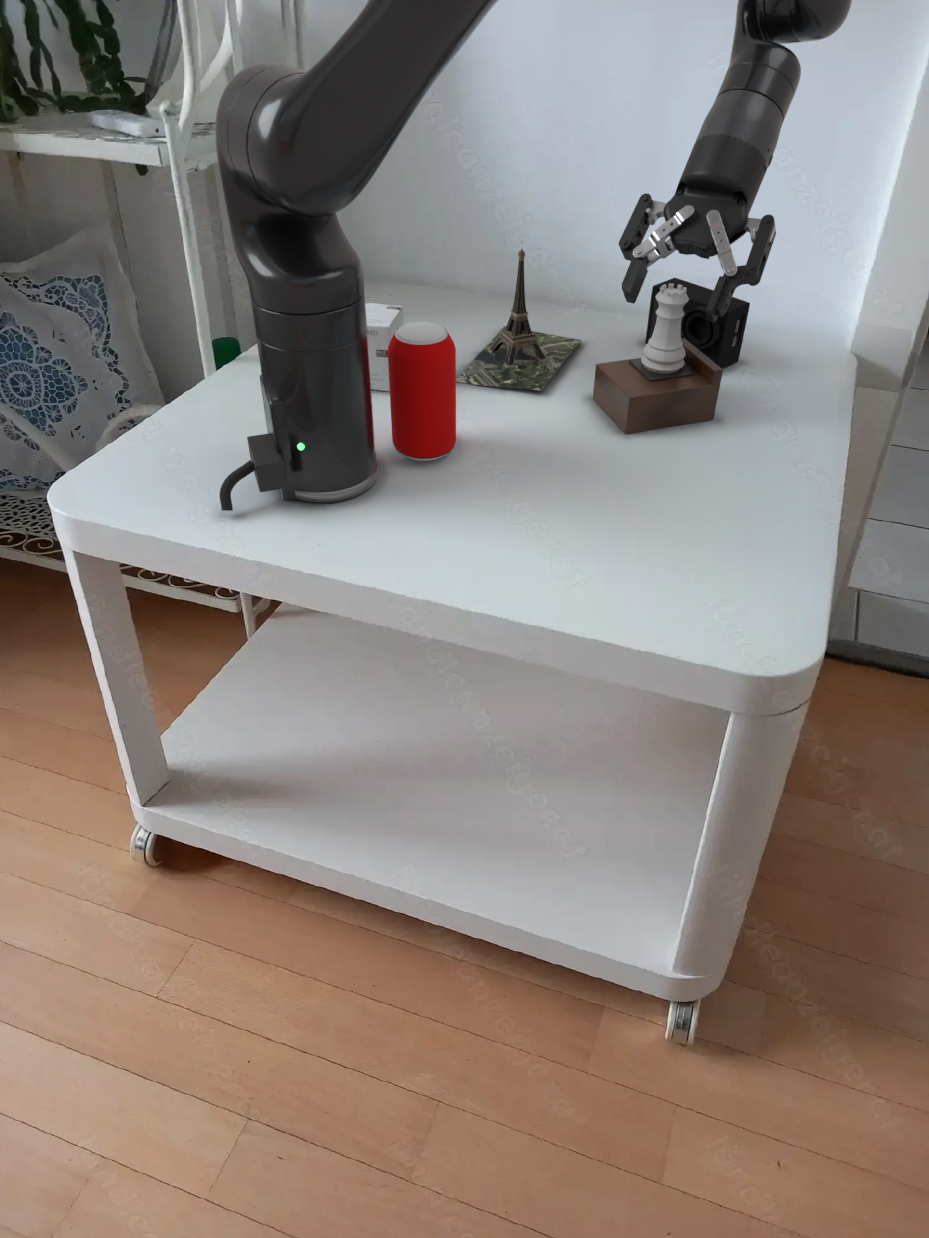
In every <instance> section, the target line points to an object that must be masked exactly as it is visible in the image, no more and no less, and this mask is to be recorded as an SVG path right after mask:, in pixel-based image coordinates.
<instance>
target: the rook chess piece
mask: <svg viewBox="0 0 929 1238" xmlns="http://www.w3.org/2000/svg"><path fill="white" fill-rule="evenodd" d="M666 287H667V285H665V284H664V285H662V287H660V292H659V293H658V294H657V295H656V296H655V297H656V300H657V302H658V303H659V308H658V309H657V310H656V314H657V320H656V325H655V328H654V332H653V335H652V337H651V338H650V339H649V341H648V342H649V343H647V344H645V345H644V347H643V348H642V354H643V355H642V357H640V358H641V361H642V364H643V365H644V367H645V368H646V369H648V370H650V371H652V372H655V373H661V374H669V373H675V372H677V371H679V370H680V369H681V368H682V367H683V366H684V364H685V362H684V359H683V358H684V357H685V355H686V354H685V349H684V347H683V346H682V345H683V343H682V341H681V320H682V317H683V316H684V312H683V306H684V305H685V304H686V303H687V302H688V301H689V298H688V296H687V294H686V291H687V289H686V287H683V285H680V284H679V285H678V287H677V289H676V288H674V284H669V287H668V288H666Z"/></svg>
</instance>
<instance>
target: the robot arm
mask: <svg viewBox="0 0 929 1238" xmlns="http://www.w3.org/2000/svg"><path fill="white" fill-rule="evenodd" d="M499 1H500V0H367V2H366V4H365V5H364V7H363V8H362V10H361V11H360V12H359V13H358V15H357V16H356V18H355V19H354V20H353V21H352V22H351V24H350V25H349V26H348V27H347V28H346V30H345V31H344V32H343V33H342V34H341V36H340V37H339V38H338V40H337V41H336V42H335V43H334V44H333V45H332V47H330V48H329V50H327V52H326V53H324V55H323V56H322V57H321V58H319V60H318V61H317V62H316V63H314V65H313V66H311V68H309V69H308V70H304V69H301V68H298V67H295V66H292V65H288V64H285V63H284V64H283V63H278V62H269V61H267V62H258V63H253V64H251V65H248V66H246V67H245V68H243V69H241V70H240V71H238V72H237V73H236V74H235V75H234V76H233V77H232V78H231V79H230V80H229V82H228V83H227V84H226V86H225V88H224V89H223V90H222V93H221V96H220V99H219V101H218V106H217V110H216V115H215V124H214V126H215V127H214V132H215V133H214V134H215V137H214V138H215V149H216V157H217V163H218V164H217V165H218V169H219V176H220V177H219V178H220V183H221V187H222V188H221V189H222V193H223V198H224V203H225V208H226V209H225V210H226V214H227V217H228V218H227V219H228V224H229V230H230V235H231V239H232V243H233V248H234V251H235V254H236V257H237V259H238V262H239V264H240V266H241V268H242V270H243V272H244V274H245V277H246V280H247V285H248V289H249V290H248V291H249V295H250V302H251V309H252V316H253V323H254V330H255V337H256V344H257V345H256V346H257V351H258V359H259V364H260V375H259V383H260V390H261V391H260V392H261V397H262V405H263V411H264V417H265V424H266V432H267V433H263V434H256V435H249V436H248V435H247V437H246V439H247V445H248V452H249V458H250V459H249V460H248V461H247V462H245V463H244V464H242V465H240V467H238V468H236V469H235V470H234V471H232V472H231V473H230V474H229V475H227V477H226V478H225V479H224V481H223V482H222V483H221V486H220V489H219V502H220V507H221V508H220V509H221V511H225V512H226V511H227V512H228V511H229V512H230V511H234V508H233V501H232V491H233V489H234V487H235V486H236V485H237V484H238V483H239V482H240V481H241V480H243V479H244V478H246V477H247V476H249V475H251V474H252V473H253V474H254V477H255V480H256V484H257V487H258V490H259V493H265V492H271V491H277V490H279V493H280V496H281V498H282V500H283V501H289V500H290V501H291V500H299V501H303V502H311V503H333V502H339V501H344V500H348V499H351V498H354V497H357V496H359V495H361V494H363V493H364V492H366V491H367V490H369V489H370V488H371V487H372V486H373V485H374V484H375V482H376V481H377V479H378V475H379V473H378V472H379V470H378V460H377V452H376V445H375V444H376V443H375V428H374V427H375V425H374V414H373V413H374V411H373V400H372V399H373V397H372V389H371V382H370V367H369V353H368V338H367V323H366V308H365V303H366V296H365V295H366V294H365V278H364V277H365V275H364V267H363V261H362V260H361V259H362V258H361V256H360V255H359V253H358V250H357V249H356V248H355V247H354V245H353V244H352V242H351V241H350V240H349V238H348V236H347V235H346V233H345V231H344V229H343V226H342V225H341V223H340V220H339V217H338V214H337V213H338V212H340V211H342V210H343V209H345V208H347V207H348V206H349V205H350V204H351V203H353V201H354V200H356V199H357V197H358V196H360V194H362V192H363V190H364V189H365V188H366V187H367V185H368V184H369V182H370V181H371V180H372V178H373V177H374V175H375V174H376V173H377V171H378V170H379V168H380V166H381V165H382V163H384V160H385V158H386V157H387V156H388V154H389V153H390V151H391V150H392V148H393V146H394V144H395V143H396V141H397V140H398V138H399V137H400V135H401V133H402V131H403V130H404V129H405V128H406V126H407V124H408V122H409V121H410V119H411V117H412V116H413V114H414V113H415V112H416V110H417V108H418V106H419V105H420V104H421V102H422V101H423V99H424V98H425V96H426V95H427V93H428V92H429V90H430V89H431V87H432V86H433V84H434V83H435V82H436V80H437V79H438V78H439V77H440V76H441V74H442V73H443V72H444V71H445V70H446V68H447V67H448V65H449V64H450V63H451V62H452V61H453V59H454V58H455V56H456V55H457V54H458V52H460V50H461V49H462V48H463V47H464V45H465V44H466V43H467V41H468V40H469V39H470V37H472V35H473V33H474V32H475V31H476V30H477V28H478V27H479V25H481V23H482V22H483V21H484V20H485V17H486V16H487V15H488V14H489V12H491V10H492V9H493V8H494V6H495V5H496V4H497V3H498V2H499ZM852 1H853V0H737V5H736V16H735V25H734V33H733V40H732V46H731V51H730V52H731V53H730V59H729V64H728V68H727V69H726V70H727V71H726V73H725V75H724V77H723V80H722V82H721V84H720V86H719V89H718V91H717V95H716V96H715V98H714V99H715V100H714V102H713V104H712V106H711V108H710V109H709V111H708V113H707V114H706V116H705V118H704V120H703V122H702V124H701V127H700V129H699V132H698V135H697V137H696V139H695V141H694V144H693V146H692V149H691V150H690V154H689V156H688V159H687V161H686V164H685V165H684V169H683V170H682V174H681V176H680V179H679V181H678V183H677V186H676V190H675V193H674V194H673V196H672V197H671V198H670V200H668V201H667V202H662V201H659V200H658V201H657V200H654V199H653V198H652V196H651V194H650V193H647V192H645V193H643V194H641V195H640V197H639V198H638V201H637V203H636V205H635V207H634V209H633V211H632V214H631V215H630V217H629V219H628V222H627V224H626V225H625V227H624V230H623V231H622V234H621V237H620V239H619V241H618V246H619V249H620V251H621V253H622V256H623V259H624V260H626V261H630V262H629V265H628V268H627V269H626V273H625V275H624V277H623V280H622V282H621V291H622V292H623V296H624V299H625V301H626V303H630V304H633V305H634V304H635V303H636V301H637V300H638V297H639V295H640V292H641V289H642V287H643V285H644V282H645V280H646V278H647V275H648V272H649V270H648V268H649V267H651V266H652V265H653V264H654V263H656V262H657V261H659V260H660V259H666V258H667V257H669V256H670V255H672V254H673V253H675V251H678V254H679V255H685V256H688V255H695V256H697V257H699V258H701V259H706V260H709V259H710V258H711V257H714V256H717V258H718V261H719V265H720V267H721V270H722V273H723V275H719V277H718V279H717V281H716V283H715V287H714V289H713V290H714V291H713V294H712V296H711V299H710V301H709V303H708V306H707V309H706V317H707V320H708V321H713V322H715V321H716V320H717V317H722V316H723V315H724V314H725V313H726V311H727V308H728V306H729V303H730V301H731V298H732V297H734V296H733V295H734V293H735V291H736V289H737V288H738V287H740V286H743V285H749V286H750V287H755V286H757V285H759V284H760V282H761V280H762V277H763V274H764V271H765V269H766V265H767V262H768V259H769V257H770V253H771V250H772V247H773V245H774V242H775V239H776V236H777V230H776V229H777V228H776V222H775V221H776V220H775V217H774V215H772V214H765V215H764V216H763V217H761V218H756V217H749V214H750V212H751V211H752V207H753V205H754V204H755V203H754V202H755V200H756V197H757V195H758V193H759V190H760V187H761V185H762V182H763V180H764V178H765V176H766V172H767V170H768V169H769V168H770V166H771V163H772V161H773V158H774V153H775V151H776V148H777V145H778V142H779V138H780V135H781V134H780V133H781V130H782V127H783V124H784V121H785V119H786V116H787V114H788V112H789V109H790V106H791V104H792V102H793V99H794V97H795V95H796V92H797V90H798V88H799V84H800V80H801V76H802V75H801V74H802V67H801V63H800V60H799V58H798V57H797V55H796V54H795V52H794V51H793V50H791V49H789V48H788V47H787V46H785V45H786V44H798V43H807V42H816V41H821V40H824V39H827V38H829V37H831V36H832V35H833V34H835V33H836V32H837V31H838V30H839V29H840V28H841V27H842V25H843V24H844V23H845V21H846V19H847V18H848V15H849V12H850V9H851V7H852ZM660 218H664V221H665V222H663V223H662V224H661V225H660V226H658V227H657V228H656V229H654V230H653V231H652V232H651V234H650V236H649V237H648V238H647V239H645V240H644V238H645V236H646V234H647V232H648V230H649V228H650V226H655V224H656V222H657V221H658V220H659V219H660ZM747 233H749V237H750V241H751V244H752V246H751V249H750V252H749V255H748V258H747V261H746V264H743V265H737V263H736V260H735V257H734V254H733V250H732V248H731V246H732V244H734V243H735V242H736V241H739V239H740V238H742V237H743V236H745V235H746V234H747ZM668 238H669V239H668ZM643 240H644V241H643Z"/></svg>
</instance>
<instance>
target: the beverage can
mask: <svg viewBox="0 0 929 1238" xmlns="http://www.w3.org/2000/svg"><path fill="white" fill-rule="evenodd" d="M388 368H389V387H390V391H389V404H390V421H391V423H390V424H391V440H392V441H391V442H392V444H393V445H392V446H393V447H394V448H395V450H396V451H397V452H398V453H399V454H400V455H401V456H403V457H404V458H408V459H410V460H412V461H417V462H430V461H431V462H432V461H436V460H438V459H441V458H443V457H446V456H447V455H449V454H450V453H451V452H452V451H453V450H454V448H455V445H456V442H457V382H456V379H457V350H456V344H455V341H454V340H453V338H452V337H451V335H450V333H449V331H448V329H446V328H445V327H443V326H441V325H439V324H438V323H434V322H429V321H415V322H414V321H413V322H409V323H406V324H403V326H401V327H400V328H398V329H397V330H396V331H395V333H394V335H393V337H392V338H391V340H390V342H389V345H388Z"/></svg>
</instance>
